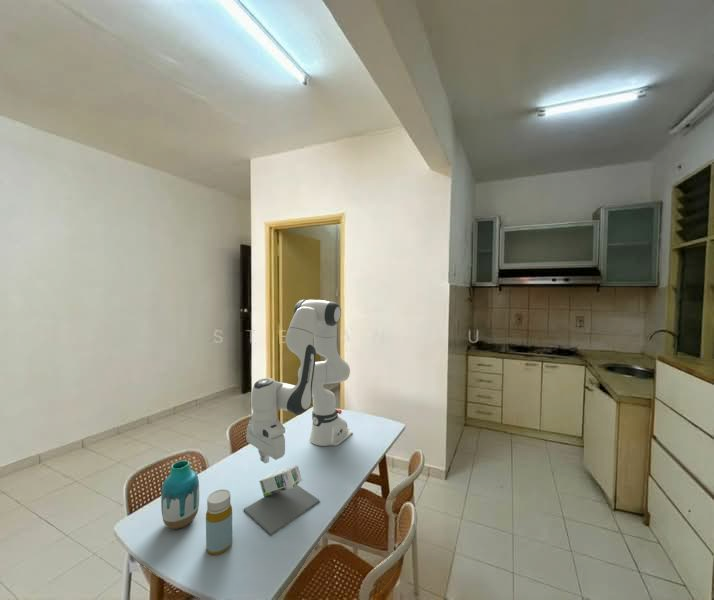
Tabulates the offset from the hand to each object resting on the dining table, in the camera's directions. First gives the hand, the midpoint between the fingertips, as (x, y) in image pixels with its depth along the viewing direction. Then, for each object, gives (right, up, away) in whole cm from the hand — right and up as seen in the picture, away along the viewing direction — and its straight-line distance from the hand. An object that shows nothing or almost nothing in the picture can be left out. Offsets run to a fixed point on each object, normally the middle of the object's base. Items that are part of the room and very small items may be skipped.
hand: (264, 461), depth 114 cm
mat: (+8, -12, -6) cm, 16 cm away
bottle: (-6, -13, -23) cm, 27 cm away
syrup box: (0, -9, +1) cm, 9 cm away
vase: (-23, -12, -14) cm, 29 cm away
